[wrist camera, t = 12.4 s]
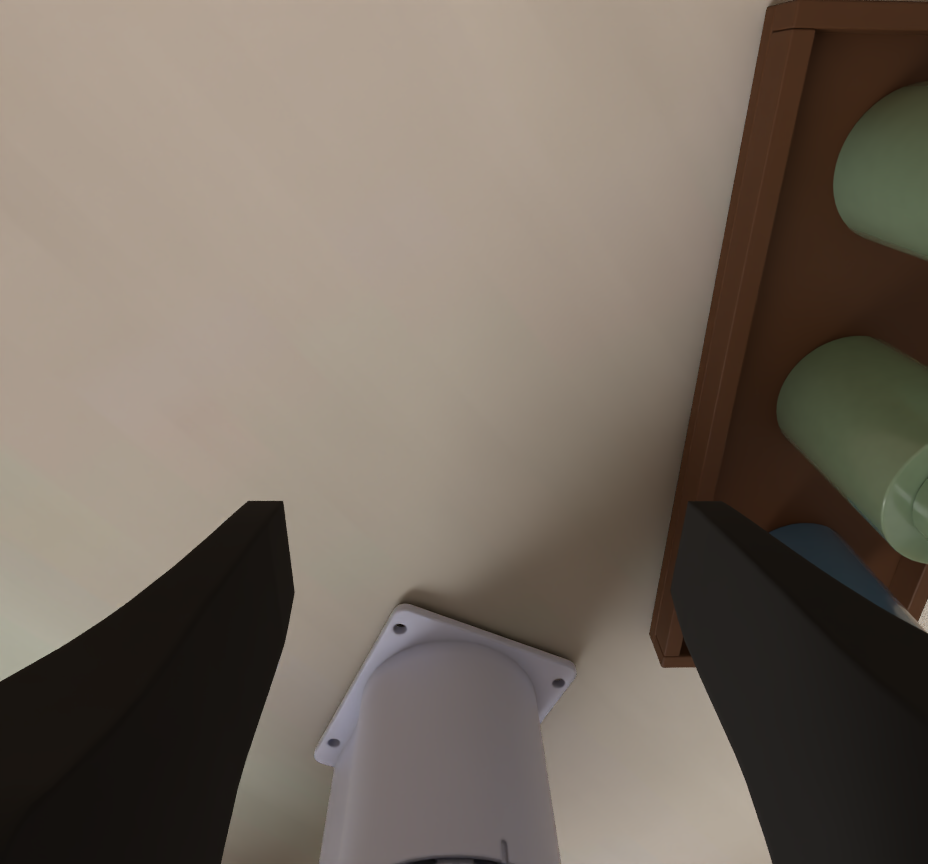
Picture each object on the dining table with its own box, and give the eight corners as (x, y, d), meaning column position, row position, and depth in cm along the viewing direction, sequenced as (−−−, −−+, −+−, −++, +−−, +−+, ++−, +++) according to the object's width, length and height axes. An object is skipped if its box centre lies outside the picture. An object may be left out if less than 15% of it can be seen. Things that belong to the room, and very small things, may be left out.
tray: (873, 632, 27) (900, 666, 26) (648, 634, 27) (661, 668, 26) (1112, 14, 18) (1179, 7, 16) (765, 6, 17) (798, -2, 16)
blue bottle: (832, 612, 26) (1004, 845, 18) (724, 612, 26) (850, 848, 18) (863, 522, 24) (1071, 738, 16) (747, 522, 24) (899, 740, 16)
